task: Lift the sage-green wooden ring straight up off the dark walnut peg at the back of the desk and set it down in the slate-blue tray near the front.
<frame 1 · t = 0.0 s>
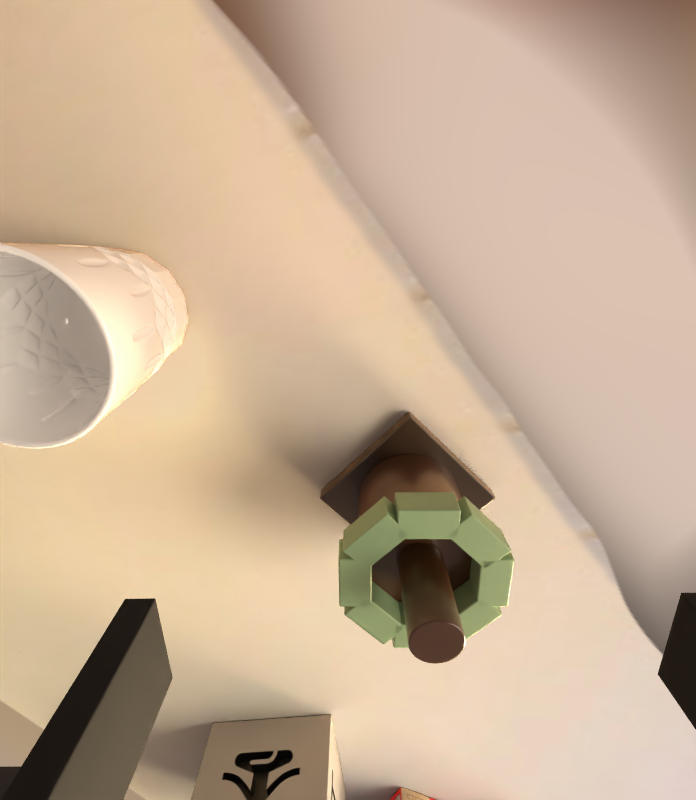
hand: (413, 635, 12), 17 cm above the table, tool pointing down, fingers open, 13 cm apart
ring: (420, 561, 24), point 7 cm above the table, touching peg stand
white cup: (132, 309, 27), on the table
peg stand: (406, 490, 30), on the table
icon cube: (281, 756, 40), on the table
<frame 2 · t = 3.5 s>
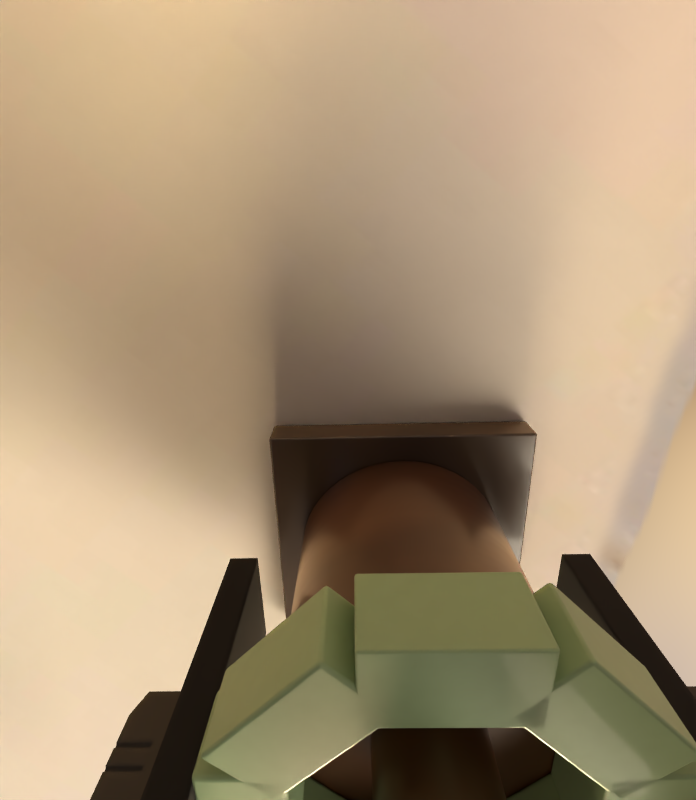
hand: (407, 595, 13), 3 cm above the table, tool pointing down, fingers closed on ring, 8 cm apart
ring: (428, 736, 9), point 7 cm above the table, touching gripper, peg stand
peg stand: (397, 528, 16), on the table
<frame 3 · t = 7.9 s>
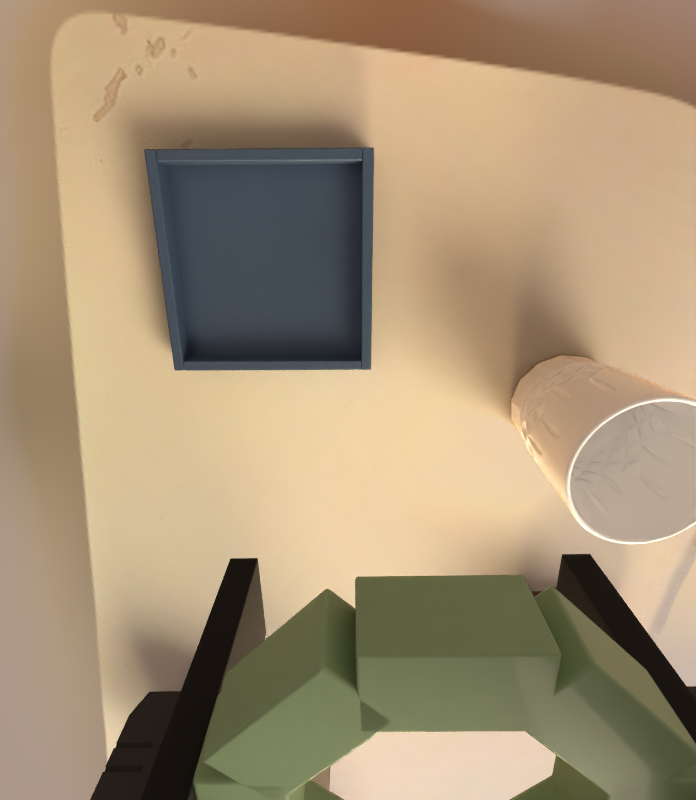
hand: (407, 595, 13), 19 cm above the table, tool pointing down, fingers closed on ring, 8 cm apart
ring: (429, 739, 9), point 23 cm above the table, touching gripper
white cup: (558, 401, 31), on the table
tray: (271, 265, 28), on the table
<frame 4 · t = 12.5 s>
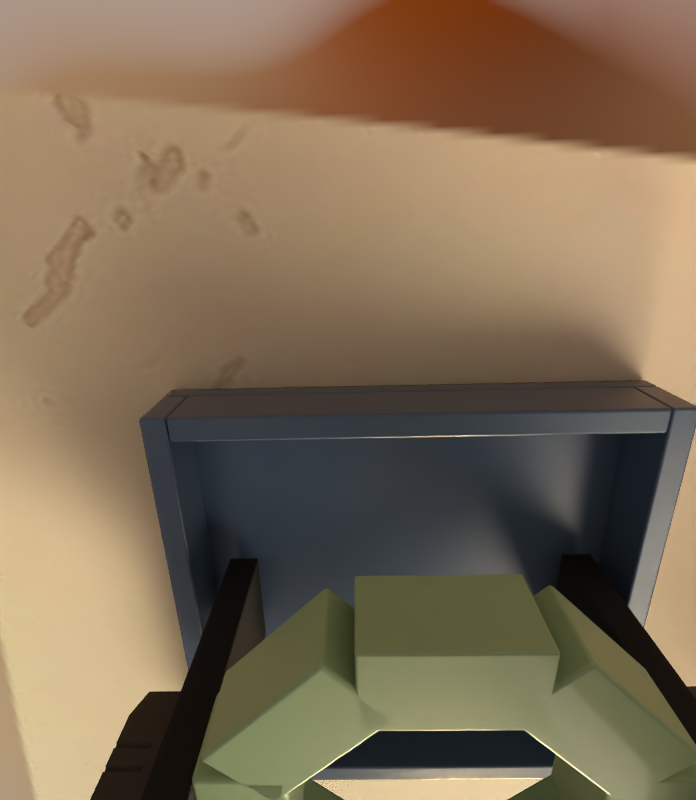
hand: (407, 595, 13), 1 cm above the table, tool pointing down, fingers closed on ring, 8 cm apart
ring: (429, 738, 9), point 5 cm above the table, touching gripper
tray: (402, 575, 14), on the table
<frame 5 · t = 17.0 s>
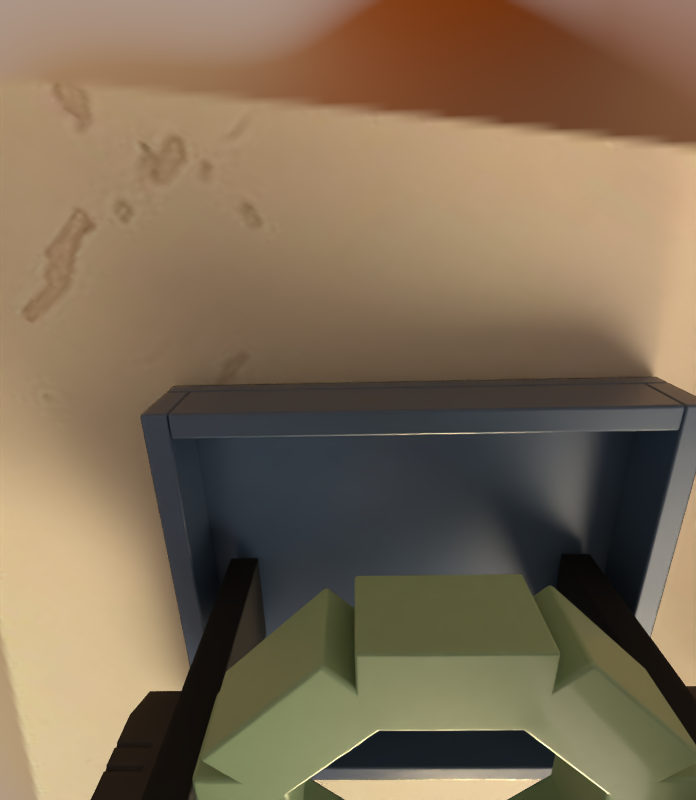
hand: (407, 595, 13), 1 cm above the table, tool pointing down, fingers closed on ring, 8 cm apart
ring: (429, 738, 9), point 5 cm above the table, touching gripper
tray: (407, 574, 14), on the table
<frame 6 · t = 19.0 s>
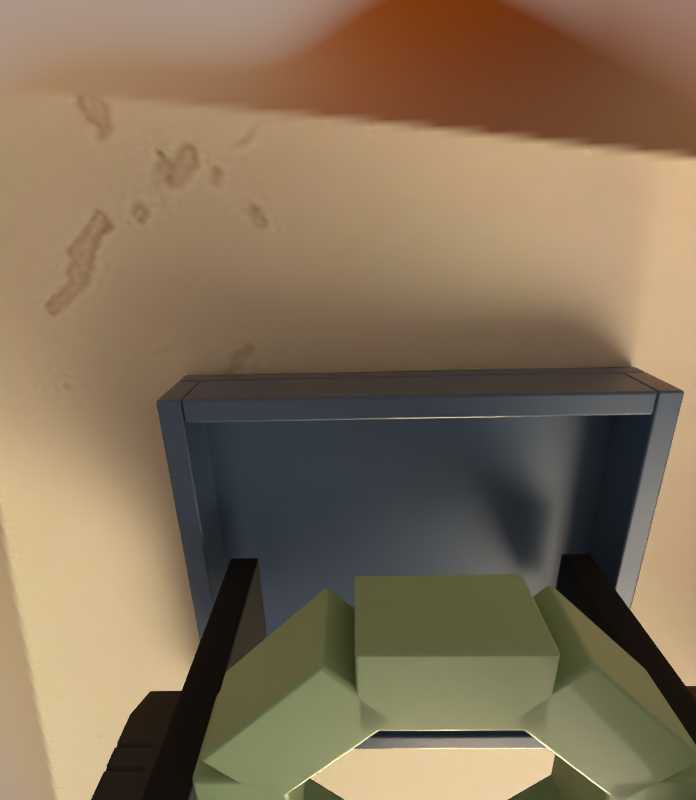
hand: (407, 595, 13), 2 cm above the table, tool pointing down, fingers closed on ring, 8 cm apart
ring: (429, 738, 9), point 6 cm above the table, touching gripper
tray: (403, 554, 15), on the table
when the fingers open (2 cm above the table, at t = 21.1 s): ring drops 1 cm, resting on tray.
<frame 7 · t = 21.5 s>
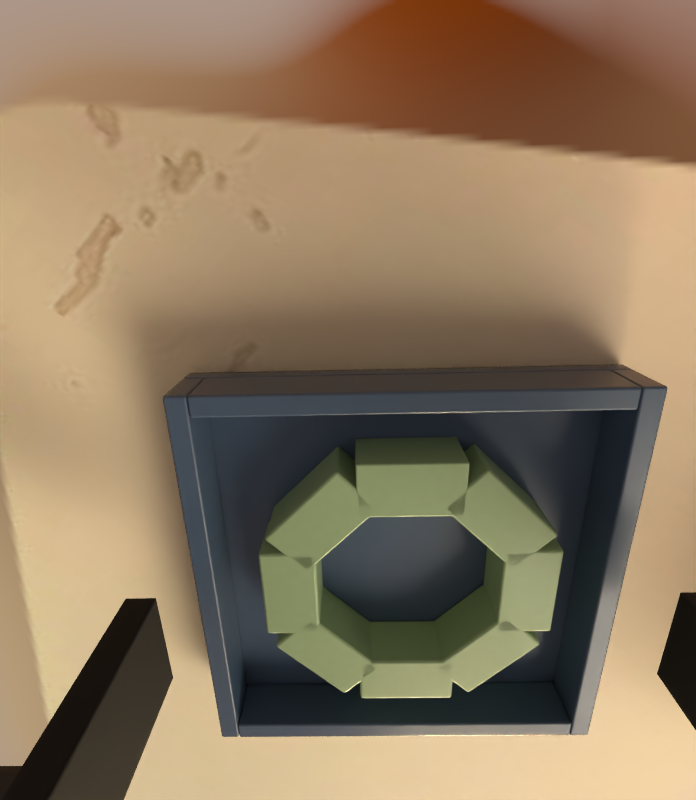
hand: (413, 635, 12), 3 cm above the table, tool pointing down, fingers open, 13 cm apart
ring: (403, 557, 15), resting on tray
tray: (400, 547, 15), on the table
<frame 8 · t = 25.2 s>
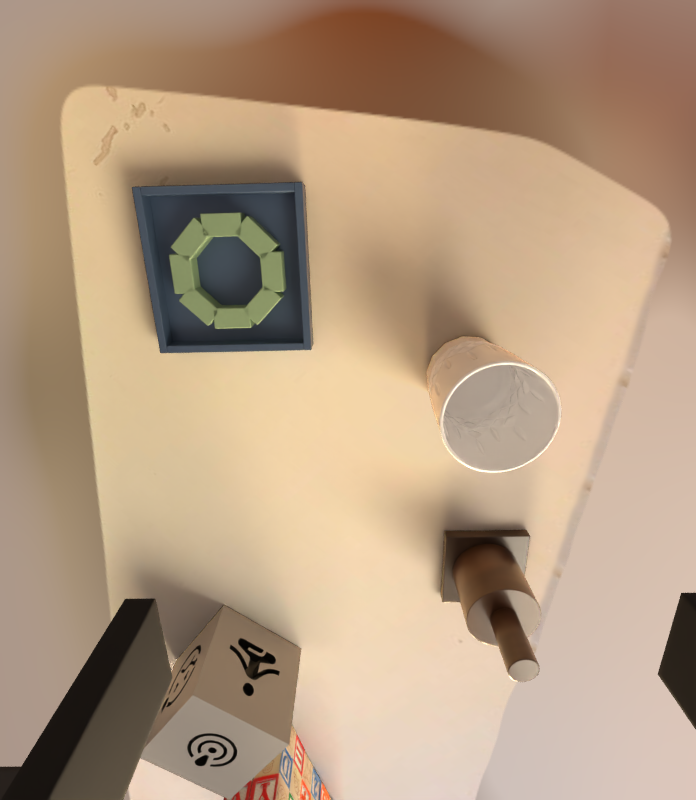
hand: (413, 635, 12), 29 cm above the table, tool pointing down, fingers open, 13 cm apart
ring: (231, 271, 36), resting on tray
white cup: (464, 373, 39), on the table
peg stand: (482, 563, 46), on the table
icon cube: (238, 652, 51), on the table
stack of blocks: (295, 775, 58), on the table
tray: (233, 270, 36), on the table
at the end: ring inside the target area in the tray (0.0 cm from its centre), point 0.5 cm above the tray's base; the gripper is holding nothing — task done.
